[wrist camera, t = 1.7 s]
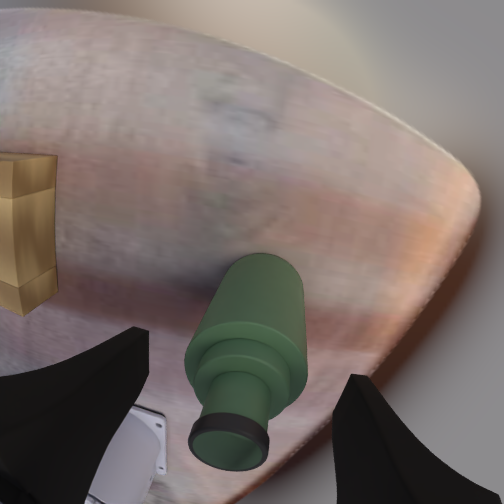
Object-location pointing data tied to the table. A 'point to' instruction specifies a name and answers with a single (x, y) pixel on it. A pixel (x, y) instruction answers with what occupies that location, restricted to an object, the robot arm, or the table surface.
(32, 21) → the table surface
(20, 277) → the hole block
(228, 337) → the bottle
